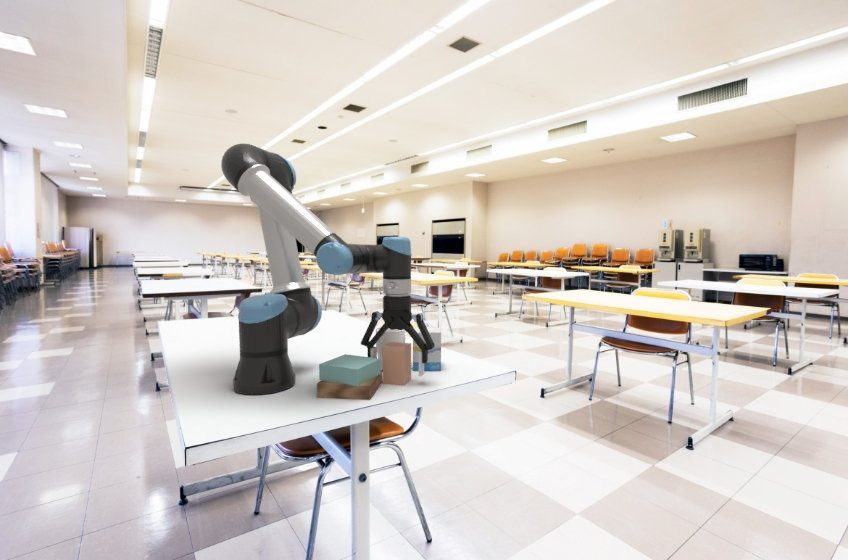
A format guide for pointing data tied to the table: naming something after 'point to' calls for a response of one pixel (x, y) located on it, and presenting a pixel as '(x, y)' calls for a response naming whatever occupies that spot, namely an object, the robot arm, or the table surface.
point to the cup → (389, 340)
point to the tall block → (397, 363)
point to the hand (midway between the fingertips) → (397, 373)
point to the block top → (350, 369)
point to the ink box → (429, 351)
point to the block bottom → (349, 389)
